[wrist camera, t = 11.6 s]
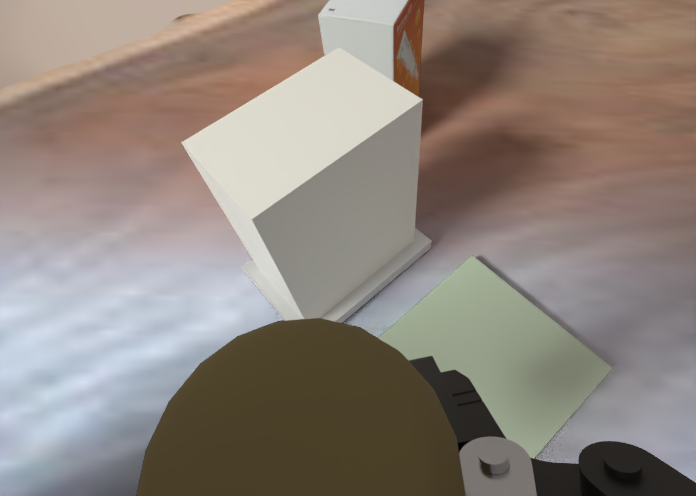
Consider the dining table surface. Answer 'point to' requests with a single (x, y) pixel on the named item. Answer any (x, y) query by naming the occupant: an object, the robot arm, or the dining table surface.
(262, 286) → the housing
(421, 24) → the small box
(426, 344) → the plate
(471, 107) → the dining table surface
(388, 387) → the cork
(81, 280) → the dining table surface
